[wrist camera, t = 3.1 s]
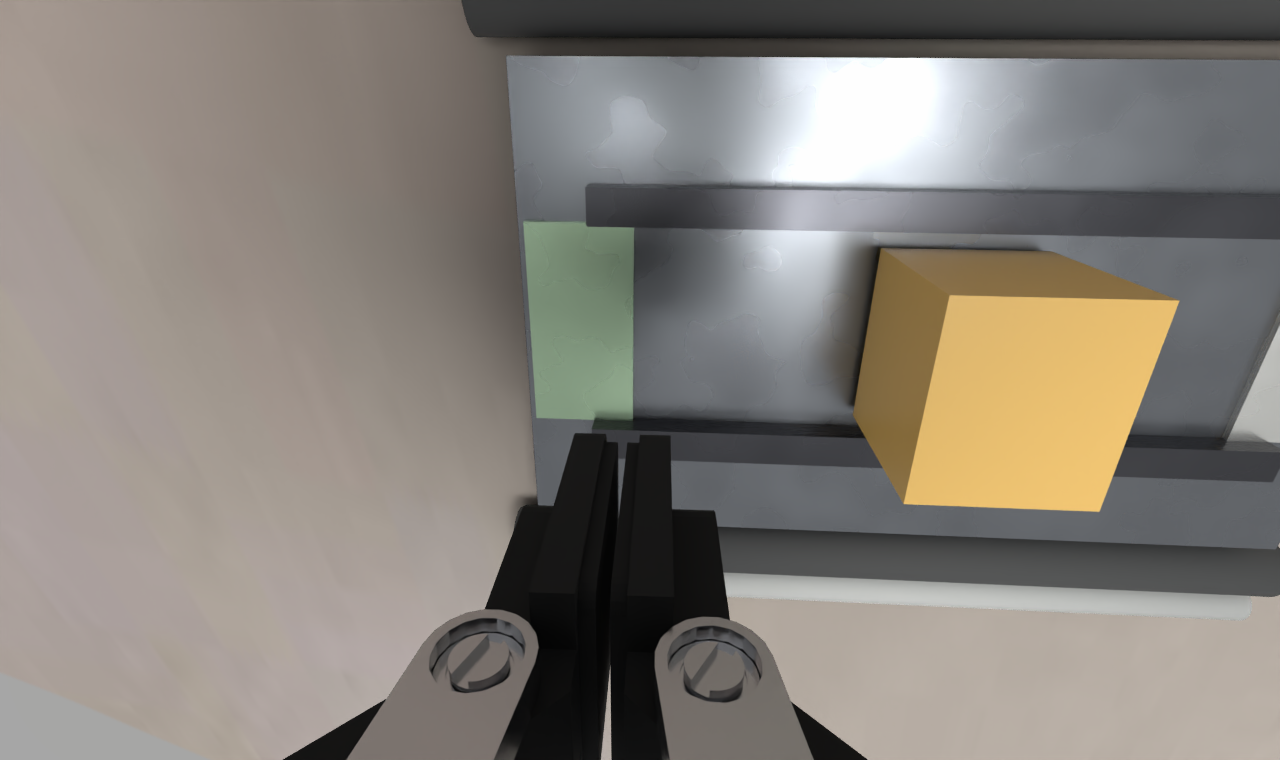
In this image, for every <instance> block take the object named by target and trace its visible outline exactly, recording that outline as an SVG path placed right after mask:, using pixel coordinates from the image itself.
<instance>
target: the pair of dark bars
mask: <svg viewBox="0 0 1280 760" xmlns="http://www.w3.org/2000/svg"><path fill="white" fill-rule="evenodd" d="M462 5H463V9H464V13H465V17H466V20H467V23H468V26H469V28H470V30H471V32H472V33H473V35H474V36H476V37H629V38H869V39H1109V40H1280V0H462ZM522 508H523V507H521V508H520V509H519V511H518V514H517V517H516V521H515V526H516V523H517V521H518V518H519V515H520V513H521V510H522ZM514 529H515V527H514ZM718 535H719V542H720V550H721V557H722V565H723V572H724V580H725V587H726V595H727V597H743V598H765V599H786V600H808V601H829V602H851V603H873V604H894V605H916V606H937V607H959V608H981V609H1002V610H1024V611H1046V612H1067V613H1089V614H1110V615H1132V616H1154V617H1175V618H1197V619H1218V620H1244V619H1246V618H1247V617H1248V616H1249V615H1250V613H1251V610H1252V602H1251V598H1250V596H1263V597H1274V596H1278V595H1280V548H1279V547H1278V546H1277V548H1276V549H1253V548H1228V547H1204V546H1180V545H1155V544H1131V543H1107V542H1082V541H1058V540H1033V539H1009V538H985V537H960V536H936V535H911V534H887V533H863V532H838V531H814V530H790V529H765V528H741V527H718Z"/></svg>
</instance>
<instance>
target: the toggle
mask: <svg viewBox="0 0 1280 760" xmlns="http://www.w3.org/2000/svg"><path fill="white" fill-rule="evenodd" d="M1178 304H1179V300H1177V299H1174V298H1171V297H1169V296H1166V295H1164V294H1161V293H1158V292H1156V291H1153V290H1151V289H1148V288H1145V287H1143V286H1140V285H1138V284H1135V283H1132V282H1130V281H1127V280H1125V279H1122V278H1119V277H1117V276H1114V275H1112V274H1109V273H1107V272H1104V271H1101V270H1099V269H1096V268H1094V267H1091V266H1088V265H1086V264H1083V263H1081V262H1078V261H1075V260H1073V259H1070V258H1068V257H1065V256H1062V255H1060V254H1057V253H1055V252H1052V251H1013V250H962V249H911V248H881V251H880V257H879V263H878V269H877V274H876V280H875V286H874V292H873V298H872V304H871V310H870V316H869V322H868V328H867V334H866V340H865V346H864V352H863V358H862V363H861V369H860V375H859V381H858V387H857V393H856V399H855V405H854V411H853V416H854V418H855V420H856V422H857V424H858V425H859V427H860V429H861V431H862V432H863V434H864V436H865V438H866V439H867V441H868V443H869V445H870V446H871V448H872V450H873V452H874V453H875V455H876V457H877V459H878V460H879V462H880V464H881V466H882V467H883V469H884V471H885V473H886V474H887V476H888V478H889V480H890V481H891V483H892V485H893V487H894V488H895V490H896V492H897V494H898V495H899V497H900V499H901V501H902V502H903V504H913V505H939V506H964V507H990V508H1016V509H1042V510H1068V511H1093V512H1099V511H1100V509H1101V506H1102V504H1103V501H1104V498H1105V496H1106V493H1107V490H1108V488H1109V485H1110V483H1111V480H1112V477H1113V475H1114V472H1115V469H1116V467H1117V464H1118V461H1119V459H1120V456H1121V454H1122V451H1123V448H1124V446H1125V443H1126V440H1127V438H1128V435H1129V433H1130V430H1131V427H1132V425H1133V422H1134V419H1135V417H1136V414H1137V411H1138V409H1139V406H1140V404H1141V401H1142V398H1143V396H1144V393H1145V390H1146V388H1147V385H1148V383H1149V380H1150V377H1151V375H1152V372H1153V369H1154V367H1155V364H1156V362H1157V359H1158V356H1159V354H1160V351H1161V348H1162V346H1163V343H1164V340H1165V338H1166V335H1167V333H1168V330H1169V327H1170V325H1171V322H1172V319H1173V317H1174V314H1175V312H1176V309H1177V306H1178Z"/></svg>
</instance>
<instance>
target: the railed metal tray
mask: <svg viewBox="0 0 1280 760" xmlns="http://www.w3.org/2000/svg"><path fill="white" fill-rule="evenodd" d="M506 63H507V77H508V91H509V105H510V119H511V133H512V147H513V161H514V175H515V189H516V203H517V217H518V231H519V245H520V260H521V274H522V288H523V302H524V316H525V330H526V344H527V358H528V372H529V386H530V400H531V414H532V428H533V442H534V456H535V470H536V484H537V498H538V505H546V506H554V502H555V499H556V495H557V492H558V488H559V485H560V482H561V478H562V475H563V471H564V468H565V464H566V461H567V457H568V454H569V450H570V447H571V444H572V440H573V437H574V434H575V433H596V434H606V436H607V442H618V494H619V510H620V502H621V493H622V484H623V476H624V467H625V458H626V450H627V442H632V443H639V438H640V435H670V436H671V481H672V509H683V510H714V511H715V514H716V520H717V527H741V528H765V529H790V530H814V531H838V532H863V533H887V534H911V535H936V536H960V537H985V538H1009V539H1033V540H1058V541H1082V542H1107V543H1131V544H1155V545H1180V546H1204V547H1228V548H1253V549H1276V548H1277V546H1278V544H1279V543H1280V60H1187V59H1008V58H829V57H651V56H506ZM881 248H911V249H962V250H1013V251H1052V252H1055V253H1057V254H1060V255H1062V256H1065V257H1068V258H1070V259H1073V260H1075V261H1078V262H1081V263H1083V264H1086V265H1088V266H1091V267H1094V268H1096V269H1099V270H1101V271H1104V272H1107V273H1109V274H1112V275H1114V276H1117V277H1119V278H1122V279H1125V280H1127V281H1130V282H1132V283H1135V284H1138V285H1140V286H1143V287H1145V288H1148V289H1151V290H1153V291H1156V292H1158V293H1161V294H1164V295H1166V296H1169V297H1171V298H1174V299H1177V300H1179V304H1178V306H1177V309H1176V312H1175V314H1174V317H1173V319H1172V322H1171V325H1170V327H1169V330H1168V333H1167V335H1166V338H1165V340H1164V343H1163V346H1162V348H1161V351H1160V354H1159V356H1158V359H1157V362H1156V364H1155V367H1154V369H1153V372H1152V375H1151V377H1150V380H1149V383H1148V385H1147V388H1146V390H1145V393H1144V396H1143V398H1142V401H1141V404H1140V406H1139V409H1138V411H1137V414H1136V417H1135V419H1134V422H1133V425H1132V427H1131V430H1130V433H1129V435H1128V438H1127V440H1126V443H1125V446H1124V448H1123V451H1122V454H1121V456H1120V459H1119V461H1118V464H1117V467H1116V469H1115V472H1114V475H1113V477H1112V480H1111V483H1110V485H1109V488H1108V490H1107V493H1106V496H1105V498H1104V501H1103V504H1102V506H1101V509H1100V511H1099V512H1093V511H1068V510H1042V509H1016V508H990V507H964V506H939V505H913V504H903V502H902V501H901V499H900V497H899V495H898V494H897V492H896V490H895V488H894V487H893V485H892V483H891V481H890V480H889V478H888V476H887V474H886V473H885V471H884V469H883V467H882V466H881V464H880V462H879V460H878V459H877V457H876V455H875V453H874V452H873V450H872V448H871V446H870V445H869V443H868V441H867V439H866V438H865V436H864V434H863V432H862V431H861V429H860V427H859V425H858V424H857V422H856V420H855V418H854V416H853V411H854V405H855V399H856V393H857V387H858V381H859V375H860V369H861V363H862V358H863V352H864V346H865V340H866V334H867V328H868V322H869V316H870V310H871V304H872V298H873V292H874V286H875V280H876V274H877V269H878V263H879V257H880V251H881Z"/></svg>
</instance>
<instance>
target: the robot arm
mask: <svg viewBox="0 0 1280 760" xmlns="http://www.w3.org/2000/svg"><path fill="white" fill-rule="evenodd" d="M610 667H611V751H612V760H867V759H866V758H865V757H863V756H862V755H861V754H859V753H858V752H857V751H855V750H854V749H853V748H851V747H850V746H849V745H848V744H846V743H845V742H844V741H842V740H841V739H840V738H838V737H837V736H836V735H834V734H833V733H832V732H830V731H829V730H828V729H826V728H825V727H824V726H822V725H821V724H820V723H818V722H817V721H816V720H815V719H813V718H812V717H811V716H809V715H808V714H807V713H805V712H804V711H803V710H801V709H800V708H799V707H797V706H796V705H795V704H793V703H792V702H791V701H790V698H789V695H788V693H787V690H786V688H785V685H784V683H783V680H782V678H781V675H780V672H779V670H778V667H777V665H776V662H775V660H774V657H773V655H772V653H771V652H770V650H769V648H768V647H767V645H766V643H765V642H764V641H763V640H762V639H761V638H760V637H759V636H758V635H756V634H755V633H754V632H753V631H752V630H750V629H748V628H747V627H745V626H743V625H741V624H739V623H737V622H734V621H731V620H730V617H729V610H728V602H727V595H726V587H725V580H724V572H723V565H722V557H721V550H720V542H719V535H718V527H717V520H716V514H715V511H714V510H683V509H672V481H671V436H670V435H640V438H639V443H632V442H627V450H626V458H625V467H624V476H623V484H622V493H621V502H620V510H619V494H618V442H607V436H606V434H596V433H575V434H574V437H573V440H572V444H571V447H570V450H569V454H568V457H567V461H566V464H565V468H564V471H563V475H562V478H561V482H560V485H559V488H558V492H557V495H556V499H555V502H554V506H546V505H525V506H523V508H522V510H521V513H520V515H519V518H518V521H517V523H516V526H515V529H514V531H513V534H512V537H511V540H510V542H509V545H508V548H507V550H506V553H505V556H504V559H503V561H502V564H501V567H500V569H499V572H498V575H497V577H496V580H495V583H494V586H493V588H492V591H491V594H490V596H489V599H488V602H487V605H486V607H485V609H484V610H478V611H473V612H468V613H465V614H463V615H460V616H458V617H455V618H453V619H451V620H449V621H447V622H446V623H444V624H443V625H442V626H440V627H439V628H437V629H436V630H434V632H433V633H432V634H431V635H430V636H429V637H428V638H427V640H426V641H425V642H424V643H423V644H422V646H421V647H420V649H419V650H418V652H417V653H416V655H415V656H414V658H413V659H412V661H411V662H410V664H409V665H408V667H407V669H406V670H405V672H404V673H403V675H402V676H401V678H400V679H399V681H398V682H397V684H396V685H395V687H394V688H393V690H392V691H391V693H390V694H389V696H388V697H387V699H385V700H383V701H382V702H380V703H378V704H377V705H375V706H373V707H372V708H370V709H368V710H366V711H365V712H363V713H361V714H360V715H358V716H356V717H355V718H353V719H351V720H349V721H348V722H346V723H344V724H343V725H341V726H339V727H338V728H336V729H334V730H332V731H331V732H329V733H327V734H326V735H324V736H322V737H321V738H319V739H317V740H315V741H314V742H312V743H310V744H309V745H307V746H305V747H304V748H302V749H300V750H298V751H297V752H295V753H293V754H292V755H290V756H288V757H287V758H285V759H283V760H601V752H602V742H603V732H604V722H605V712H606V702H607V691H608V681H609V671H610Z"/></svg>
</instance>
